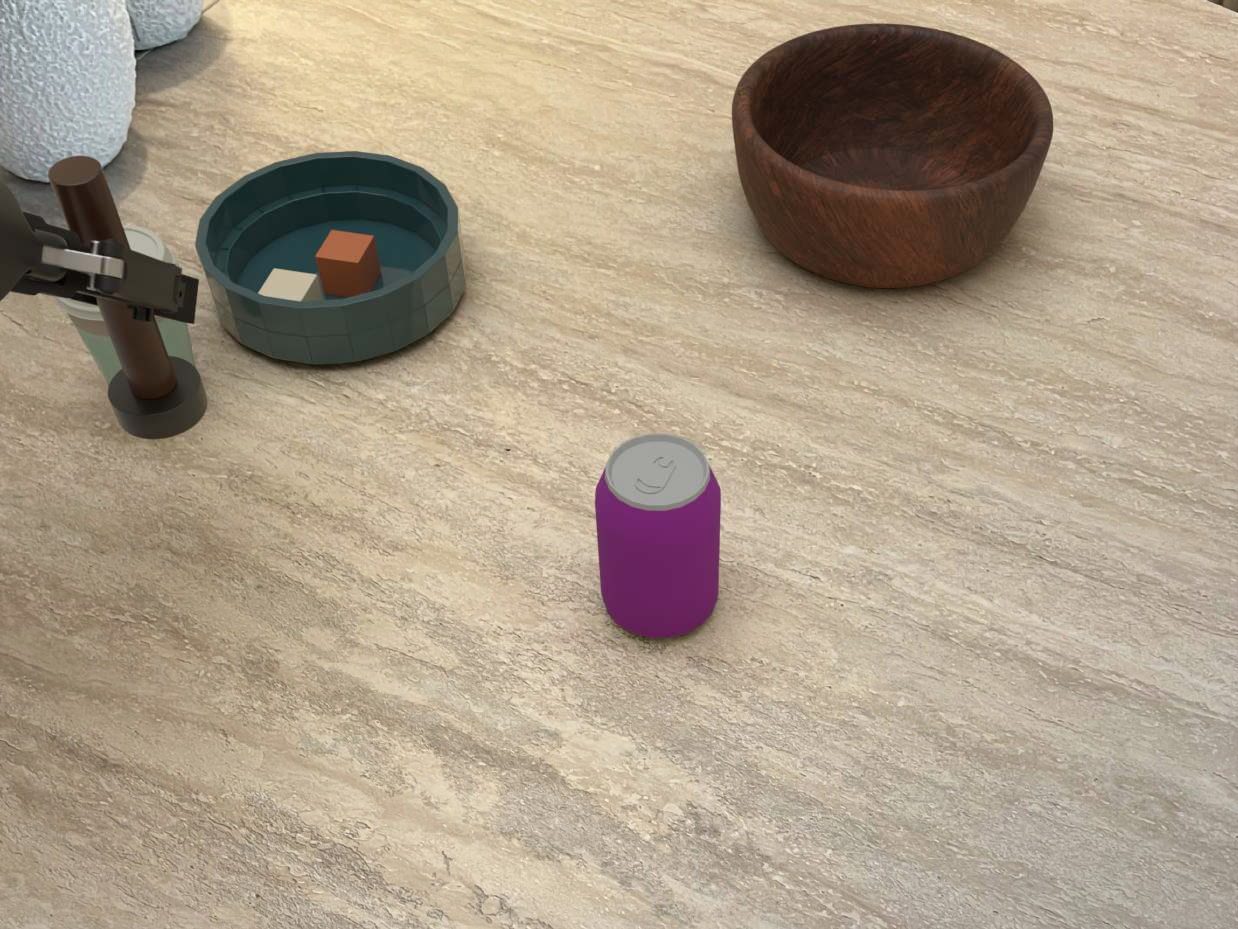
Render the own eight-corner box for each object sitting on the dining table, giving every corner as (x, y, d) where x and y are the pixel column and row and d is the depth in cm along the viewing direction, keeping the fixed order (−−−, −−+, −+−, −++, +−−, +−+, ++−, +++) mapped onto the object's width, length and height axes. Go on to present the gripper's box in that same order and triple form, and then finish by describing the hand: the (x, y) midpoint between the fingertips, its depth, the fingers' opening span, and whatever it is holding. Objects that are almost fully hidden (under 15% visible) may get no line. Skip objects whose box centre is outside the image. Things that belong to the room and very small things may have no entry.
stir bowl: (174, 351, 111) (151, 285, 106) (274, 202, 123) (257, 137, 118) (419, 389, 109) (407, 324, 104) (498, 233, 120) (490, 169, 115)
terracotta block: (323, 294, 114) (314, 256, 111) (339, 267, 116) (331, 229, 113) (366, 300, 114) (358, 262, 111) (381, 273, 116) (374, 235, 113)
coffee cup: (150, 342, 112) (99, 206, 102) (241, 375, 109) (198, 239, 100) (75, 411, 107) (15, 274, 97) (168, 447, 105) (117, 311, 95)
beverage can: (637, 543, 99) (632, 409, 90) (738, 582, 97) (744, 449, 87) (580, 620, 95) (568, 487, 86) (684, 663, 93) (684, 532, 83)
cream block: (266, 334, 111) (255, 296, 108) (283, 305, 113) (273, 267, 110) (309, 340, 111) (299, 302, 108) (326, 311, 113) (317, 274, 110)
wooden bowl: (954, 113, 131) (973, 0, 123) (1083, 279, 117) (1113, 164, 109) (689, 161, 126) (690, 47, 118) (789, 340, 112) (797, 224, 104)
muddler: (101, 432, 91) (0, 192, 77) (141, 373, 94) (51, 134, 81) (185, 446, 90) (98, 207, 77) (222, 386, 93) (145, 147, 80)
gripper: (-255, 282, 68) (39, 339, 91) (58, 333, 66) (278, 377, 89) (-244, 116, 67) (51, 216, 90) (74, 163, 65) (293, 252, 88)
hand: (163, 296), depth 90 cm, fingers closed on muddler, 3 cm apart
